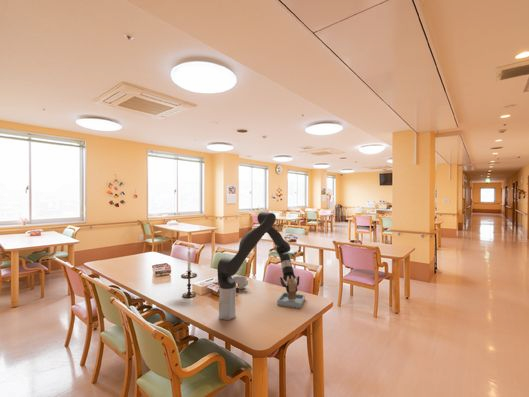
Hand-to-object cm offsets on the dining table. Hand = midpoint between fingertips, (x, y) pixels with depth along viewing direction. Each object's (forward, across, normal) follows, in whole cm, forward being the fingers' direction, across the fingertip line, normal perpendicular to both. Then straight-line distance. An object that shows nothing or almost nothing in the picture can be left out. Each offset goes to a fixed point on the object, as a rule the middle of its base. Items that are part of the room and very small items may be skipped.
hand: (292, 292), depth 171 cm
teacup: (-18, -30, +29) cm, 46 cm away
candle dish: (+4, 0, +6) cm, 7 cm away
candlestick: (-13, -67, +24) cm, 72 cm away
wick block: (+2, 0, +5) cm, 5 cm away
